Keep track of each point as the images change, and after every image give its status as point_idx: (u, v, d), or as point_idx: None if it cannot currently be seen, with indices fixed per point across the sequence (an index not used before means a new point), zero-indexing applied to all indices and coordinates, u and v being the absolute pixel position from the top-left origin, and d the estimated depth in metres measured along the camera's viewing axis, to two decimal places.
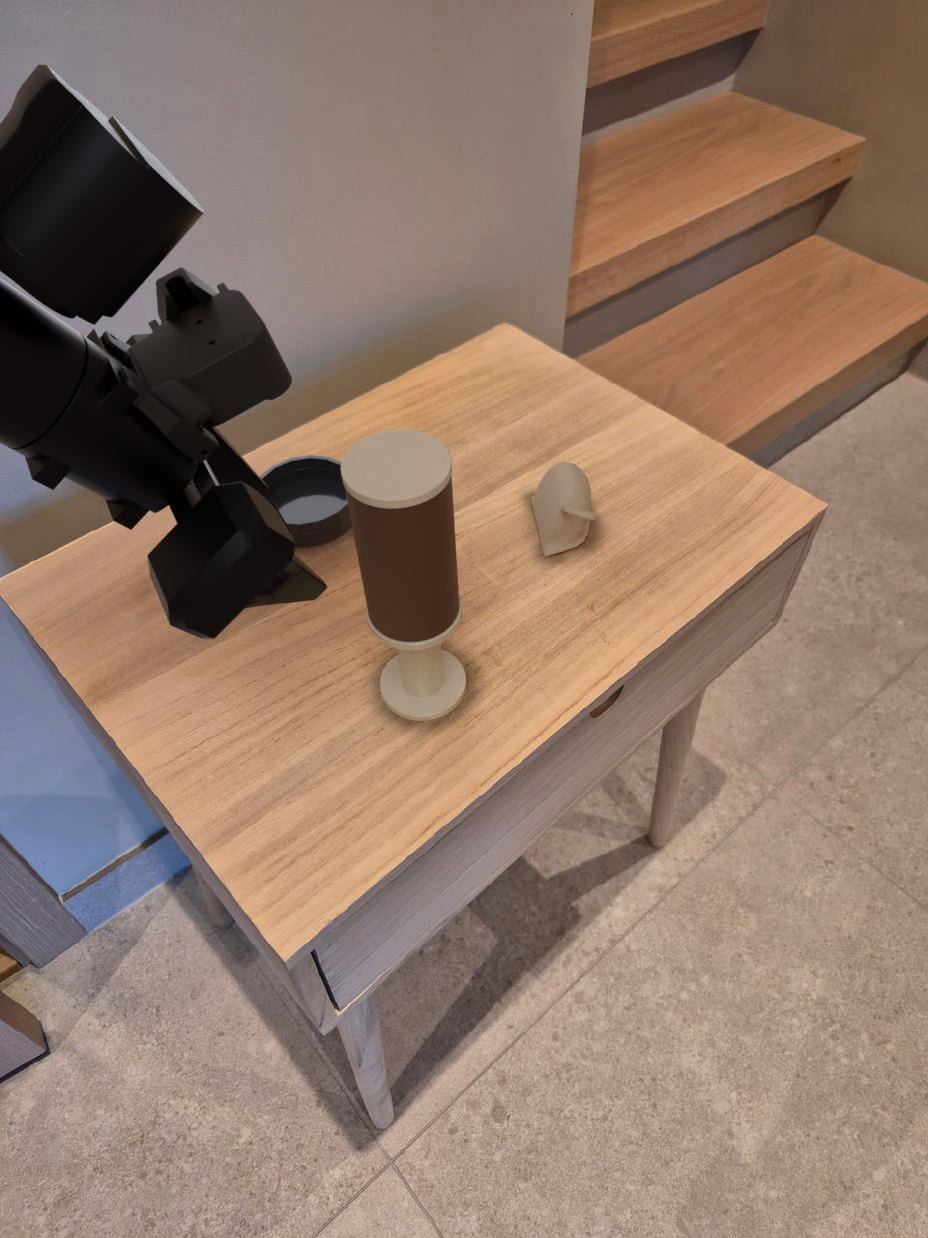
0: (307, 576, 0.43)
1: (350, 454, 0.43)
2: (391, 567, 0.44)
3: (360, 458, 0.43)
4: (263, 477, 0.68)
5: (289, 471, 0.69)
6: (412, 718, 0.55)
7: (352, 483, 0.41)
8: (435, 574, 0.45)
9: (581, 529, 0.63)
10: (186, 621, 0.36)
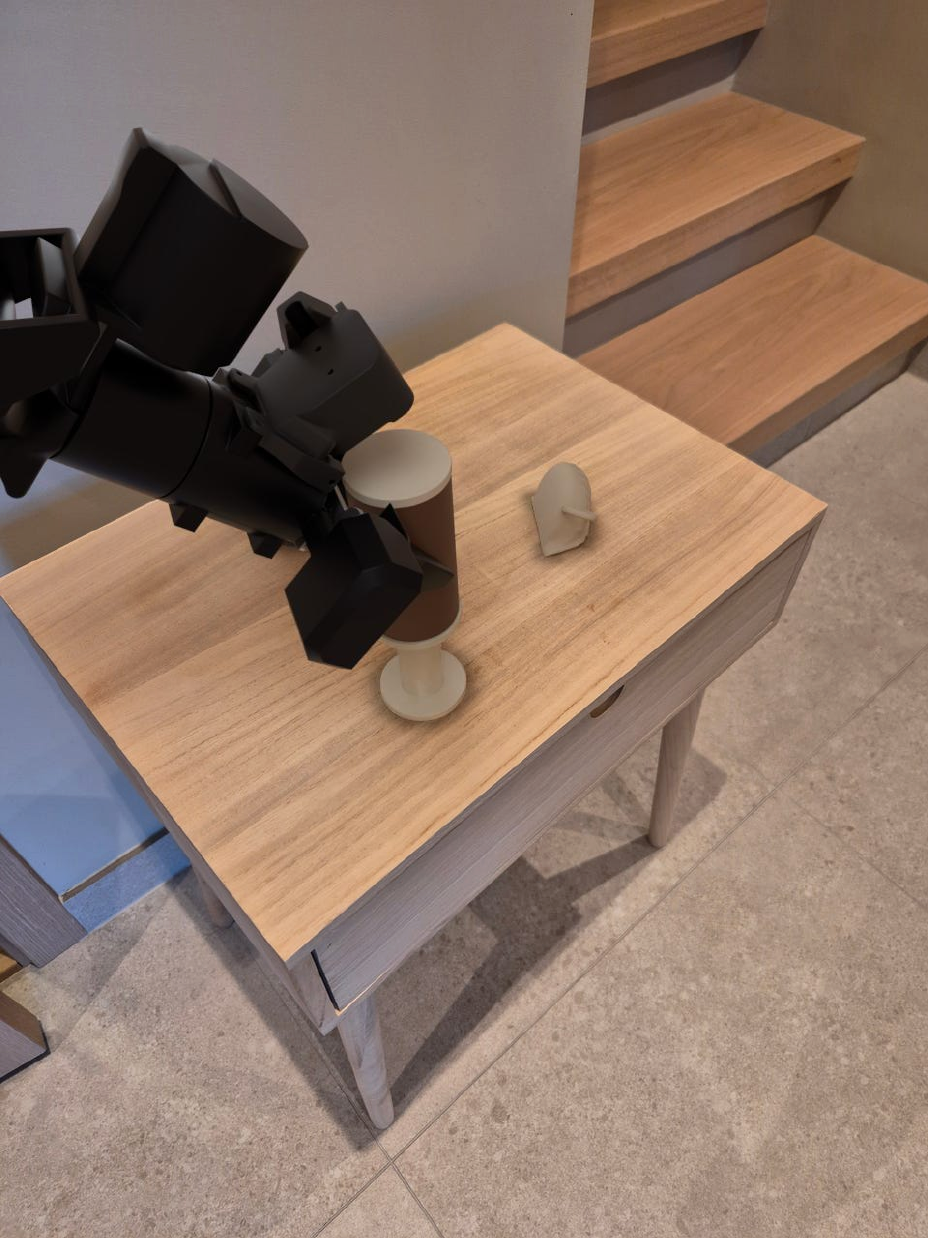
0: (432, 568, 0.43)
1: (350, 454, 0.43)
2: None
3: (360, 458, 0.43)
4: None
5: None
6: (412, 718, 0.55)
7: (352, 483, 0.41)
8: None
9: (581, 529, 0.63)
10: (322, 657, 0.36)
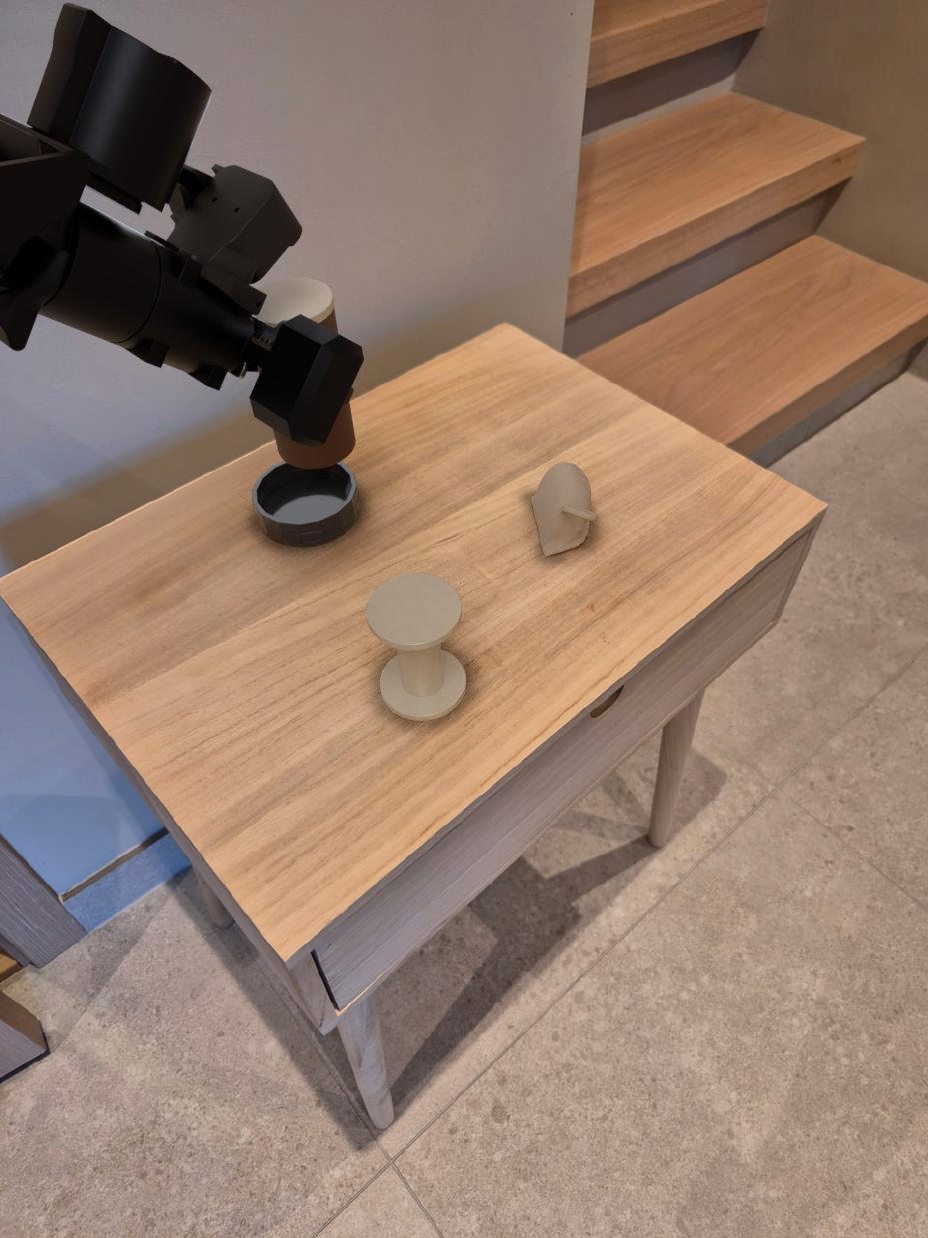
0: None
1: None
2: None
3: None
4: (263, 477, 0.68)
5: (289, 471, 0.69)
6: (412, 718, 0.55)
7: (261, 319, 0.50)
8: None
9: (581, 529, 0.63)
10: (304, 431, 0.45)
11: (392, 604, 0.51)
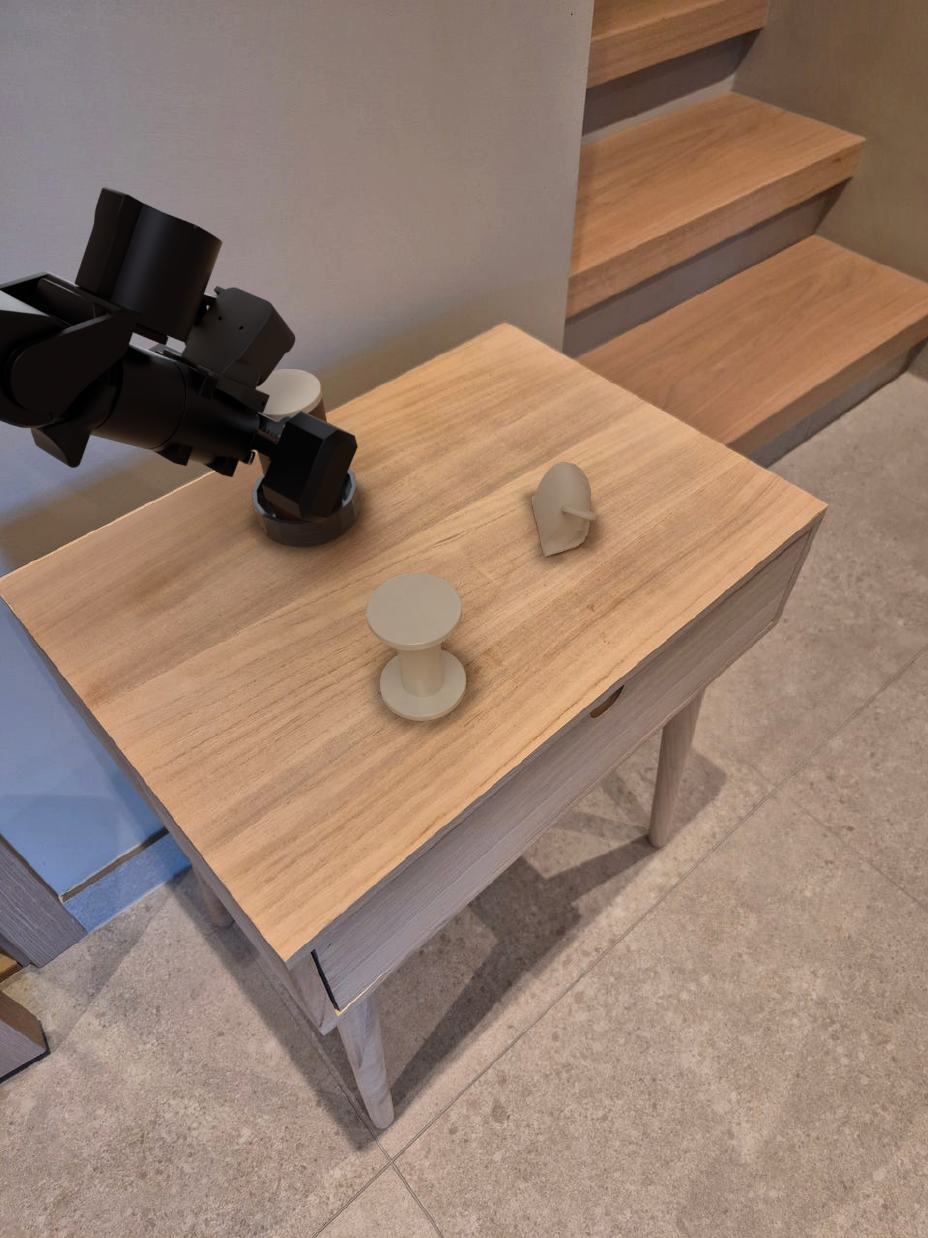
0: None
1: None
2: None
3: None
4: (263, 477, 0.68)
5: None
6: (412, 718, 0.55)
7: None
8: None
9: (581, 529, 0.63)
10: (312, 511, 0.54)
11: (392, 604, 0.51)
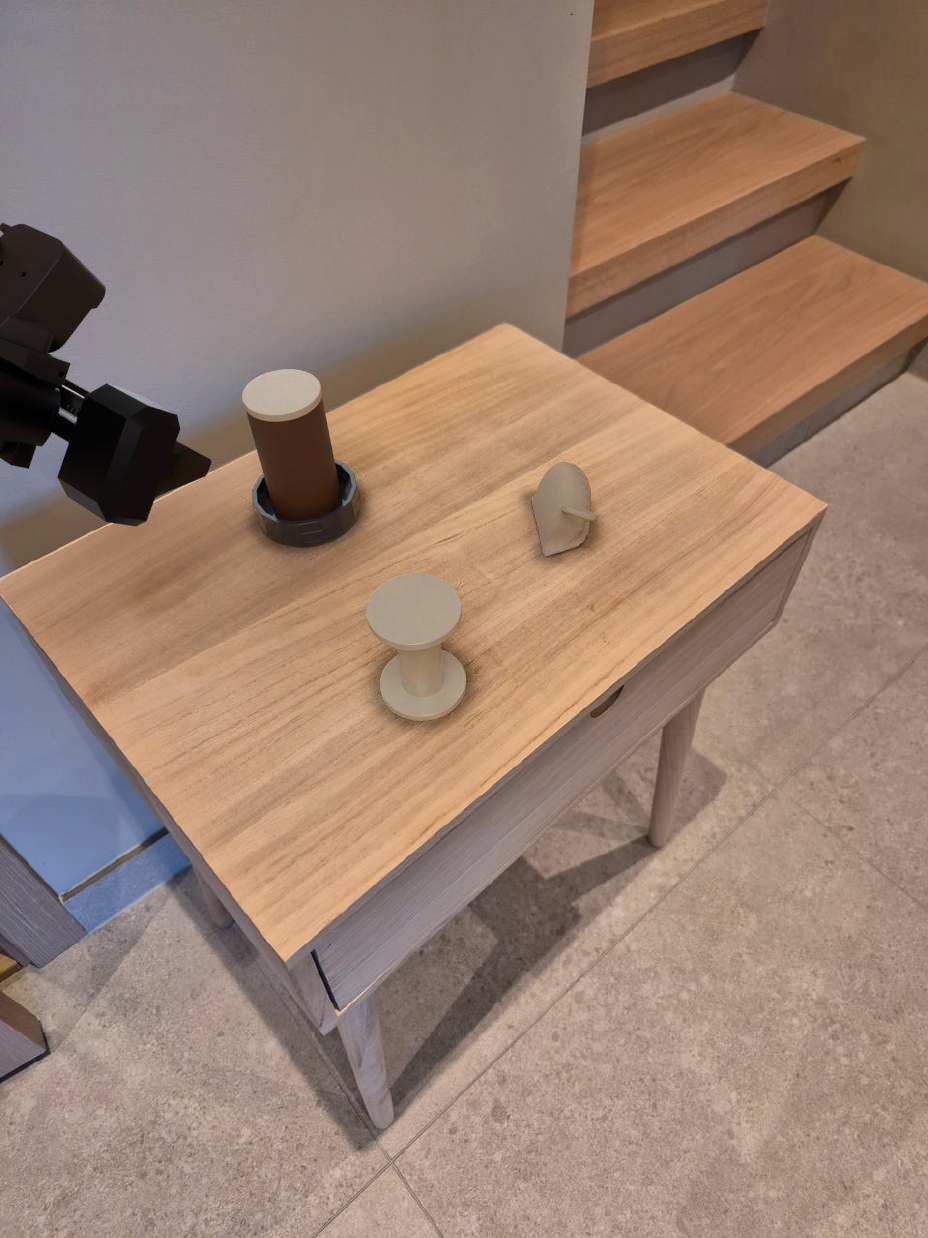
0: (192, 453, 0.49)
1: (246, 396, 0.60)
2: (301, 466, 0.62)
3: (255, 396, 0.59)
4: (263, 477, 0.68)
5: None
6: (412, 718, 0.55)
7: (261, 411, 0.58)
8: (328, 465, 0.64)
9: (581, 529, 0.63)
10: (118, 511, 0.42)
11: (392, 604, 0.51)
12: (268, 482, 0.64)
